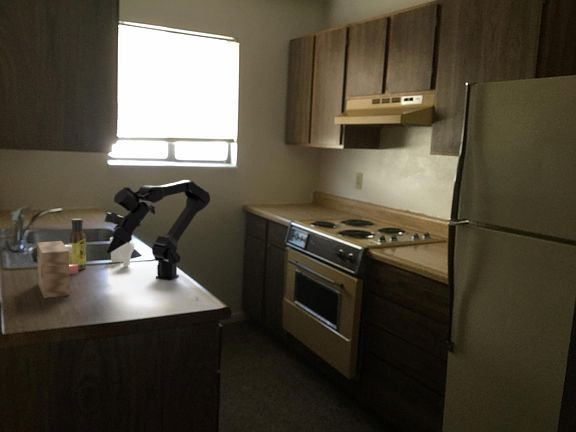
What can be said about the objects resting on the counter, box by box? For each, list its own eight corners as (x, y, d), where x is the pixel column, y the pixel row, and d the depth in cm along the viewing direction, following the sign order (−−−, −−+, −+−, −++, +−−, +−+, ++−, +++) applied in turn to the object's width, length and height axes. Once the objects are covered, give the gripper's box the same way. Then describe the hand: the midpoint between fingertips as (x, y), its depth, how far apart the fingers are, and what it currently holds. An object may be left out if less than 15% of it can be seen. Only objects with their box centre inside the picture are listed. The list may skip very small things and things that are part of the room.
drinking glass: (129, 261, 226) (129, 238, 225) (114, 263, 221) (114, 240, 220) (121, 258, 231) (121, 235, 229) (107, 260, 226) (106, 237, 225)
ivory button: (71, 252, 191) (71, 243, 191) (72, 253, 189) (72, 245, 188) (50, 253, 188) (49, 245, 187) (51, 255, 185) (50, 246, 185)
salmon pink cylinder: (76, 272, 182) (76, 263, 181) (78, 274, 179) (78, 265, 179) (54, 274, 178) (54, 265, 178) (55, 276, 176) (55, 267, 175)
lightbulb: (129, 268, 214) (129, 241, 212) (115, 267, 215) (115, 240, 213) (136, 265, 220) (136, 239, 218) (123, 264, 221) (123, 238, 219)
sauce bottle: (83, 270, 208) (82, 220, 205) (67, 270, 208) (65, 220, 205) (88, 266, 215) (87, 218, 212) (72, 266, 214) (71, 217, 212)
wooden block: (62, 281, 193) (61, 240, 191) (70, 295, 177) (68, 250, 175) (38, 283, 189) (36, 242, 187) (43, 297, 173) (42, 252, 171)
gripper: (116, 202, 195) (89, 236, 193) (116, 204, 178) (86, 241, 175) (141, 220, 198) (114, 254, 196) (143, 223, 181) (114, 261, 178)
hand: (107, 252), depth 186 cm, fingers closed
